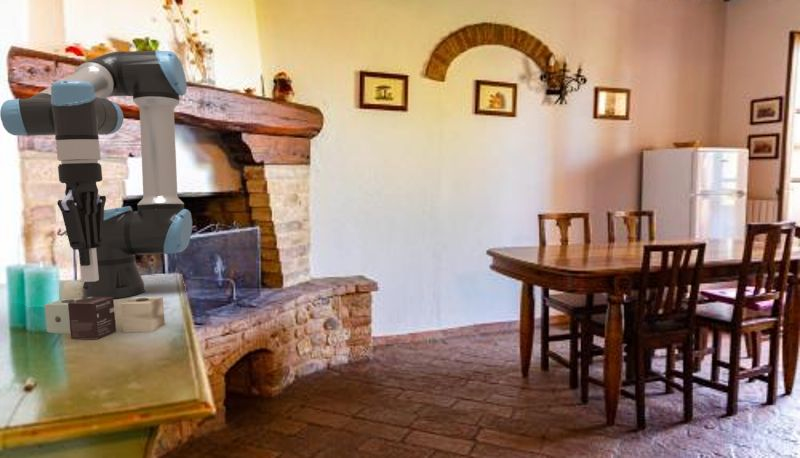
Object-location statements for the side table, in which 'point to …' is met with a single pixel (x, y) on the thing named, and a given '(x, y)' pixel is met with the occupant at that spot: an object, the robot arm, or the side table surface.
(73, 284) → the side table surface
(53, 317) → the sage block partly covered
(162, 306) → the beech block marked
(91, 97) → the robot arm
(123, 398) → the side table surface
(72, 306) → the box
